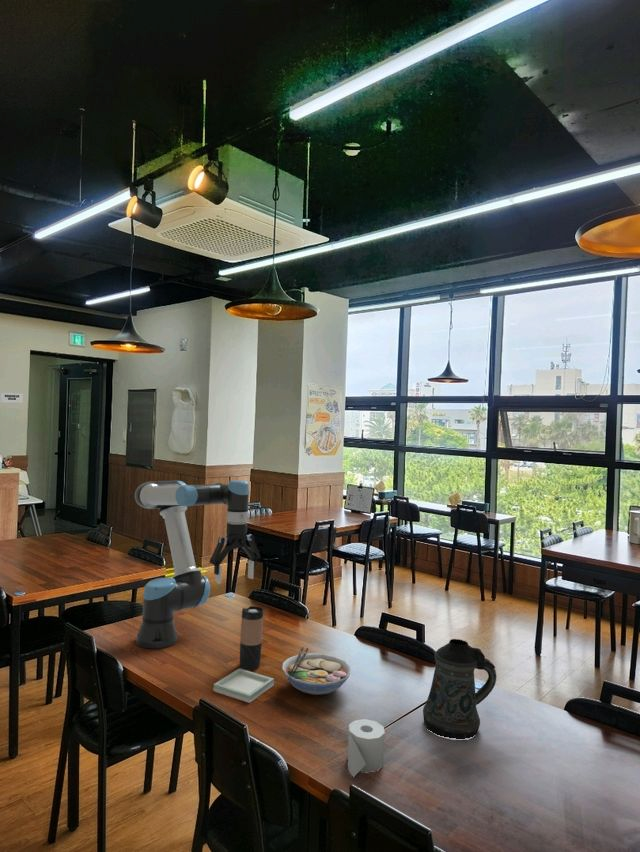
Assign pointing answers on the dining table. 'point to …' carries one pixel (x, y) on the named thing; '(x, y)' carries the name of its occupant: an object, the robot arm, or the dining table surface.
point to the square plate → (243, 685)
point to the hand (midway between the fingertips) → (234, 580)
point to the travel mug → (251, 637)
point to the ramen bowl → (316, 672)
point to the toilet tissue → (365, 746)
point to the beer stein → (457, 690)
